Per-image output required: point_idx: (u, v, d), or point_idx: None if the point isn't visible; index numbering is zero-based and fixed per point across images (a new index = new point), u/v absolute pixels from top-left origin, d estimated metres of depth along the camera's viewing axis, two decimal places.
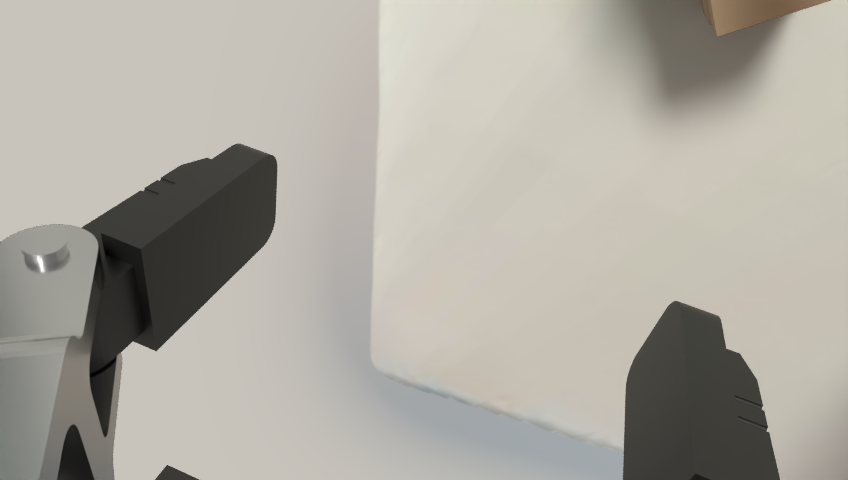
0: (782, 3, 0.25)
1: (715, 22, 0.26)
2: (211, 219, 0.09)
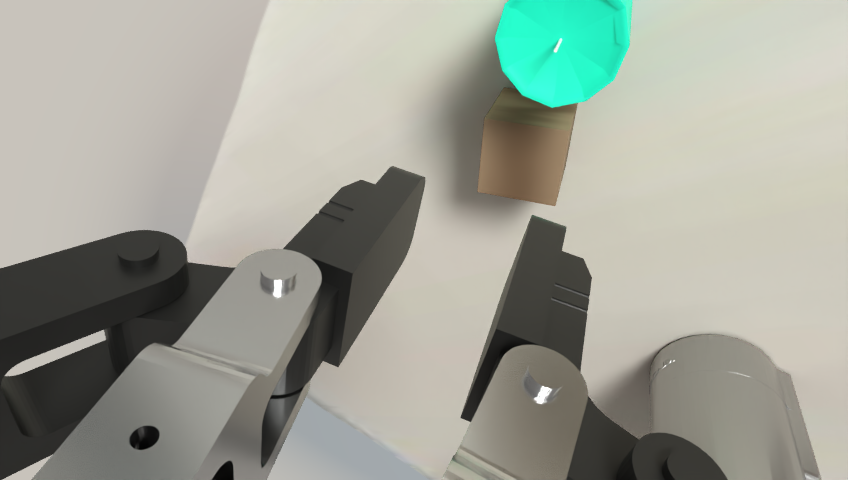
0: (521, 192, 0.34)
1: (479, 182, 0.35)
2: (386, 240, 0.10)
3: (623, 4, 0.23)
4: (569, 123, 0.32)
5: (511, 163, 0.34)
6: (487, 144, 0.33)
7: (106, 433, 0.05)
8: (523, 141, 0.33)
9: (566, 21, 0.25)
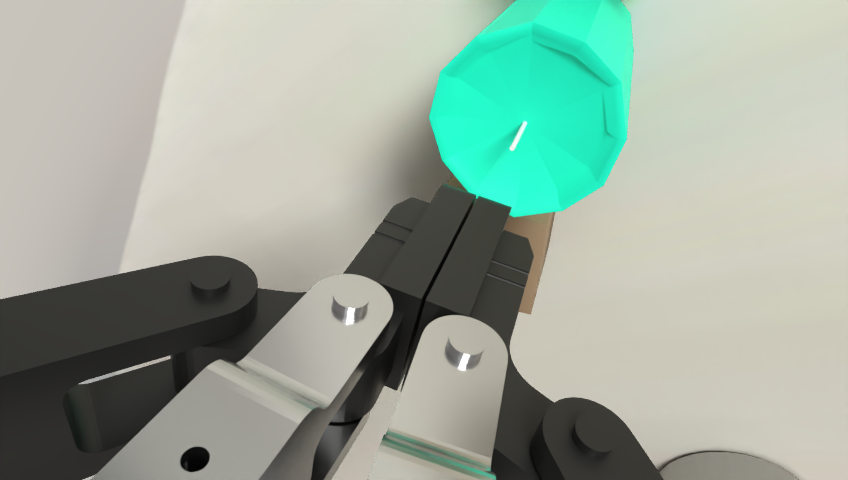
0: None
1: None
2: (445, 262, 0.10)
3: (617, 78, 0.15)
4: None
5: None
6: None
7: (160, 448, 0.05)
8: None
9: (533, 98, 0.16)
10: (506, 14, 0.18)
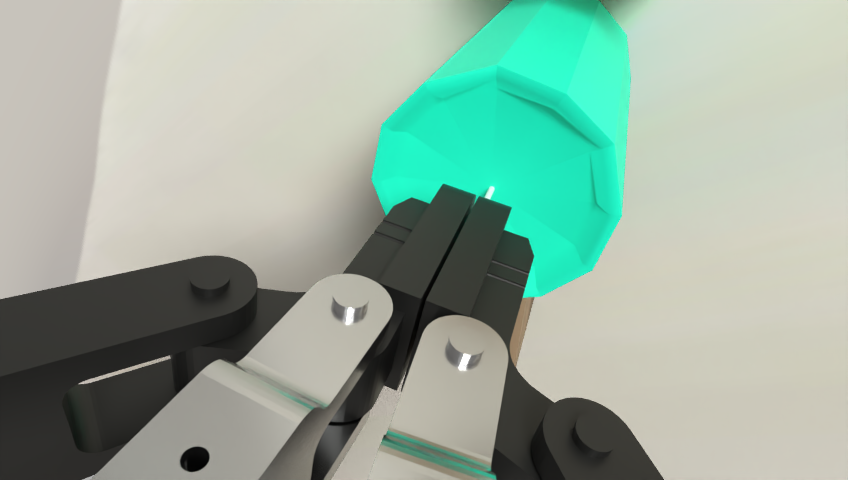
0: None
1: None
2: (445, 261, 0.10)
3: (609, 138, 0.12)
4: None
5: None
6: None
7: (160, 448, 0.05)
8: None
9: (501, 159, 0.13)
10: (469, 47, 0.14)
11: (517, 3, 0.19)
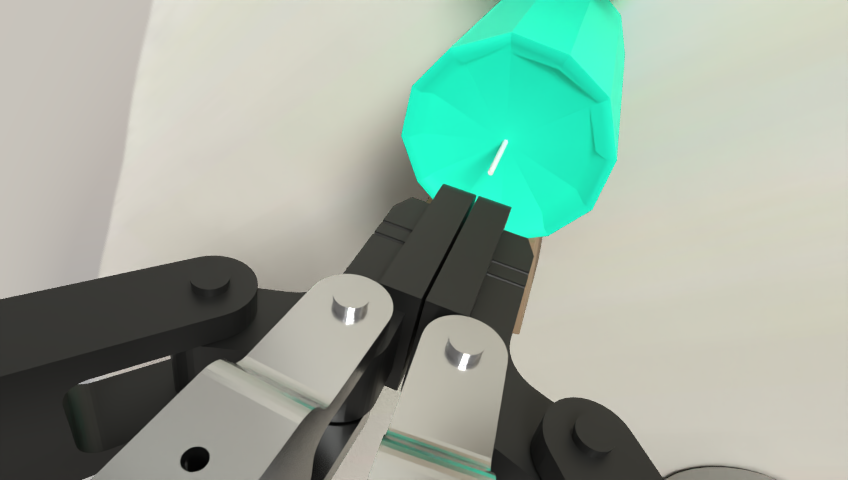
0: None
1: None
2: (445, 261, 0.10)
3: (606, 93, 0.14)
4: None
5: None
6: None
7: (160, 448, 0.05)
8: None
9: (513, 115, 0.15)
10: (484, 21, 0.16)
11: None
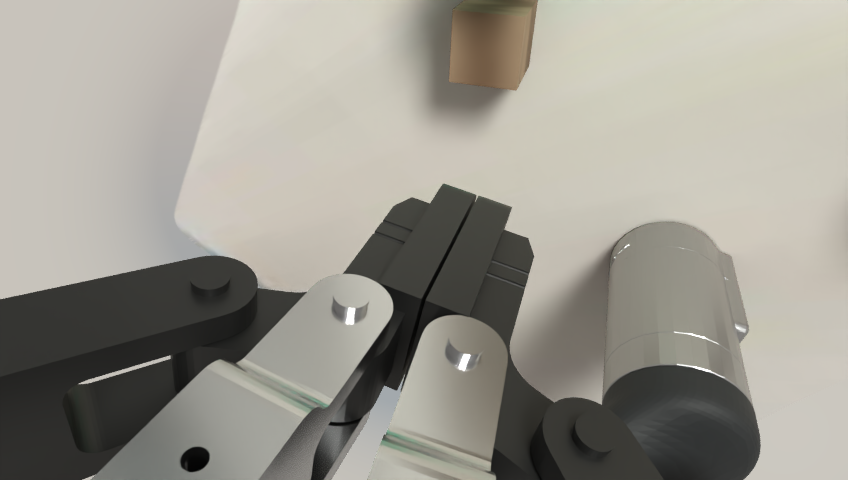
0: (486, 79, 0.39)
1: (450, 72, 0.40)
2: (445, 262, 0.10)
3: None
4: (526, 12, 0.37)
5: (477, 51, 0.38)
6: (456, 34, 0.38)
7: (160, 448, 0.05)
8: (487, 29, 0.37)
9: None
10: None
11: None
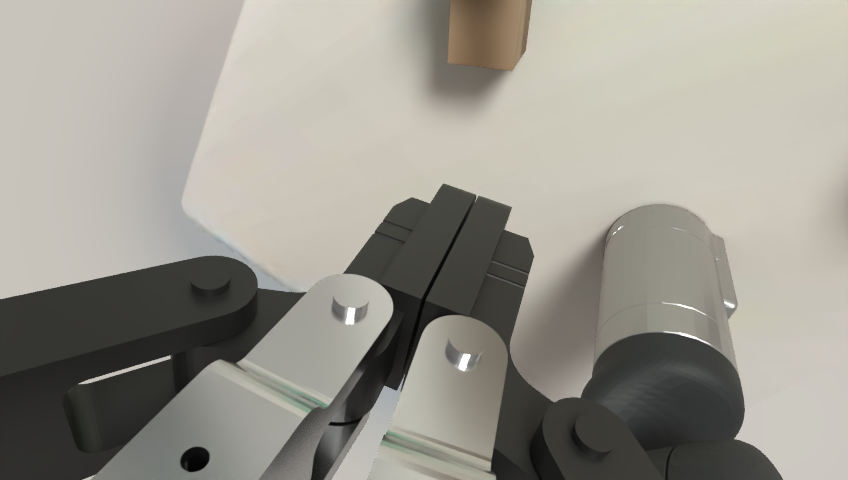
0: (483, 59, 0.41)
1: (448, 53, 0.41)
2: (445, 262, 0.10)
3: None
4: None
5: (474, 33, 0.40)
6: (454, 16, 0.40)
7: (160, 448, 0.05)
8: (483, 11, 0.39)
9: None
10: None
11: None
